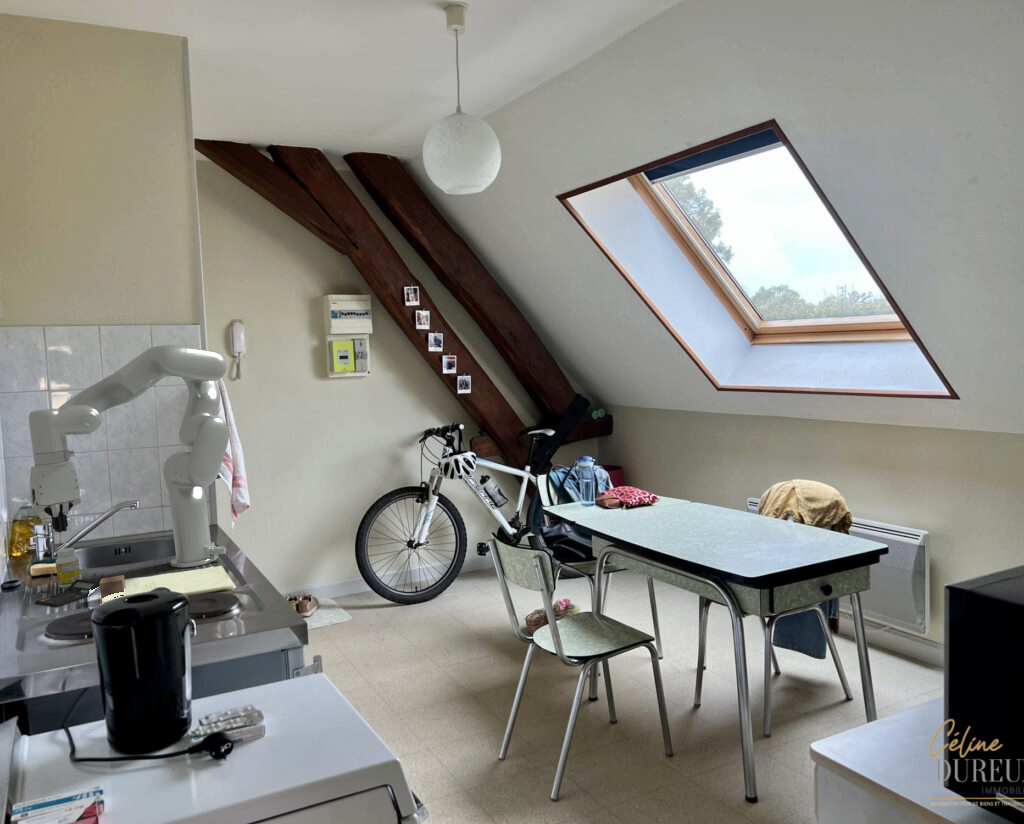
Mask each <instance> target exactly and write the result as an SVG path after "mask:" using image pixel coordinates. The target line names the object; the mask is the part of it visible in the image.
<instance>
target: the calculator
mask: <svg viewBox="0 0 1024 824" xmlns="http://www.w3.org/2000/svg"><path fill="white" fill-rule="evenodd" d="M99 583H100V581H93V580H85V579H81V580H78V579H77V580H76V581H75V582H74V583H72V584H71V585H70V586H69V587H66V588H65V590H64V591H63V592H59V593H57V594H53V595H49V596H47V597H44V598H40V599H39V600H38V599H37V600H35V601H34V603H35V605H42V606H47V607H55V608H59V607H62V606H65V605H66V606H67V605H69V604H72V603H75V602H77V601H81V600H83V599H86V598H89V597H88V594H89V590H90V589H91V590H93V589H95V588H97V587H99V586H100V585H99ZM99 588H100V587H99Z"/></svg>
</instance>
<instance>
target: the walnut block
mask: <svg viewBox="0 0 1024 824" xmlns="http://www.w3.org/2000/svg"><path fill="white" fill-rule="evenodd" d="M99 582H100V583H99V585H100V587H99V592H100V599H102V598H104V597H106V596H108V595H111V594H114V593H119V592H124V588H125V589H126V581H125V575H124V574H122V575H115V576H114V575H113V576H110V577H109V576H108V577H102V578H101V579H100V581H99ZM120 596H124V595H120ZM117 597H118V596H117ZM114 598H116V597H114Z"/></svg>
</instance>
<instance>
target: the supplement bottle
mask: <svg viewBox="0 0 1024 824" xmlns="http://www.w3.org/2000/svg"><path fill="white" fill-rule="evenodd" d="M56 552H57V557H58V558H56V560H55V569H56V576H57V583H58V587H59V588H65V589H66V588H68V587H69V586H70V585H71V584H72V583H74V582H75V581H76V580H77V579H78V580H82V576H81V568H80V561H79V560H80V559H79V556H77V555H76V554H75V553H76V551H75V548H74V547H65V548H61V549H58V550H57V551H56Z"/></svg>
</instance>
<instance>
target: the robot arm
mask: <svg viewBox="0 0 1024 824" xmlns="http://www.w3.org/2000/svg"><path fill="white" fill-rule="evenodd" d="M227 366H228V365H227V361H226V360H225V357H223V356H222V354H220V353H219V352H216V351H214V350H207V349H202V348H201V349H200V348H194V347H193V348H192V347H188V346H182V345H178V344H177V345H176V344H165V345H156V346H155V345H154V346H151V347H150V348H147V349H146V350H145V351H143V352H141V353H140V354H139V355H138V356H136V357H134V358H133V359H132V360H131V361H129V362H128V363H126V364H125V365H124V366H122V367H121V368H119V369H118V370H116V371H115V372H113V373H112V374H110V375H109V376H106V377H104V378H103V379H101V380H99V381H98V382H96V383H94V384H92V385H91V386H89V387H87V388H85V389H83V390H82V391H80V392H79V393H77V394H75V395H74V396H73V397H71V398H70V399H68V400H67V401H66V402H64V403H63V404H62V405H61V406H59V407H58V408H43V409H37V410H36V409H35V410H33V411H30V412H29V413H28V425H29V433H30V440H31V448H32V456H33V462H34V466H31V467H30V471H29V492H30V493H29V495H30V502H31V504H32V506H33V512H36V513H45V514H46V515H48V516H50V519H51V524H52V525H51V526H52V529H53V530H54V532H56V533H62V532H67V531H68V529H67V528H68V527H69V524H68V523H69V522H68V515H69V512H70V511H71V509H72V508H73V507H75V506H77V505H80V504H81V503H82V500H81V498H80V497H81V489H80V483H79V478H78V476H77V472H76V469H75V465H74V463H73V461H71V458H72V457H74V456H75V452H74V450H71V451H70V449H69V448H68V439H67V436H70V435H72V436H73V435H74V436H75V435H76V436H78V435H80V436H81V435H89V434H92V433H94V432H95V431H97V430H98V429H99V428H100V426H101V425H102V422H103V418H102V413H103V412H105V411H108V410H109V409H111V408H115V407H118V406H120V405H125V404H127V403H129V402H131V401H134V400H135V399H137V398H139V397H140V396H141V395H143V394H144V393H145V392H147V391H148V390H149V389H151V388H152V387H153V386H154V385H156V384H157V383H159V382H160V381H161V380H162V379H164V378H165V377H178V378H181V379H182V380H183V381H184V383H185V384H186V387H187V390H188V399H187V402H186V403H187V404H186V408H185V411H184V413H183V417H182V421H181V424H180V427H179V431H178V439H179V441H180V443H181V444H182V445H183V446H184V447H187V448H191V451H178V452H175V453H172V454H171V455H169V456H168V457H167V458H166V460H165V462H164V464H163V467H162V472H163V473H162V474H163V478H164V482H165V485H166V488H167V492H168V493H167V494H168V497H169V505H170V516H171V522H172V531H173V532H172V533H173V541H174V542H173V543H174V548H175V557H174V558H172V559H171V560H170V566H172V567H174V568H190V567H198V566H202V565H207V564H210V563H213V562H215V561H217V559H219V555H224V554H227V548H226V546H224V545H220V546H217V545H215V541H211V531H210V524H209V522H210V521H209V514H208V503H207V502H208V501H207V497H206V493H205V490H204V488H205V487H208V486H210V485H212V484H213V483H214V482H215V481H216V479H217V478H218V476H219V474H220V471H221V469H222V466H223V461H224V458H225V454H226V450H227V447H228V444H229V440H230V431H229V430H230V429H229V426H228V424H227V422H226V421H225V420H224V419H223V418H221V417H220V416H218V412H219V408H220V404H221V393H220V390H219V386H218V384H217V381H219V380H221V379H222V378H223V377H224V376H225V374H226V372H227V369H228V367H227ZM57 505H58V508H57Z"/></svg>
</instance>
